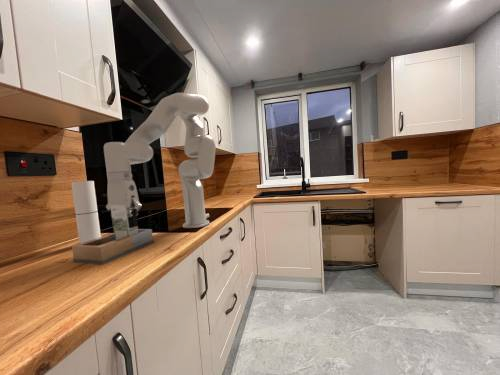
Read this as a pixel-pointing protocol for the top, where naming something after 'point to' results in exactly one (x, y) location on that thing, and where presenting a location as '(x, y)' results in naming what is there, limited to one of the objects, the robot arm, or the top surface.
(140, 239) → the shallow storage tray
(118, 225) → the syrup box
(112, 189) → the robot arm
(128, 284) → the top surface
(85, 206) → the cylindrical container
